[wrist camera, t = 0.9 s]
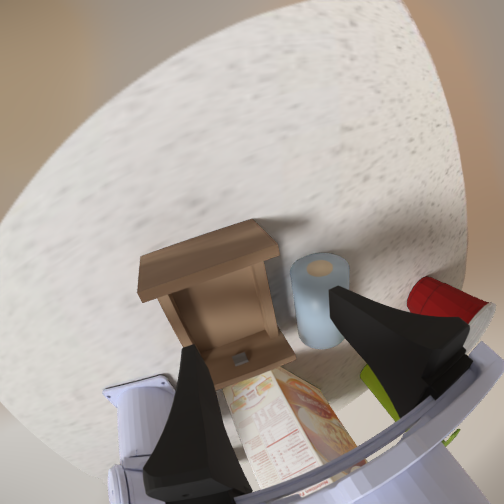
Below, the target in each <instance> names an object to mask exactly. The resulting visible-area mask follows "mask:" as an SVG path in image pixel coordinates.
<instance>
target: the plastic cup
mask: <svg viewBox="0 0 504 504" xmlns="http://www.w3.org/2000/svg"><path fill="white" fill-rule="evenodd" d="M407 307H408V309H409V310H410V312H411V313H415V314H421V315H428V316H438V317H460V318H461V319H462V320H464V321H465V322H466V323H467V324H468V325H470V332H469V334H468V337H467V339H466V341H465V343H464V345H463V347H464V348H465V349H466V353H465V354H466V355H467V353H468V352H469V351H470V350H471V349H472V348H473V347H474V345H475V344H476V343H477V342H478V341H479V339H480V338H481V336H482V335H483V334H484V332H485V331H486V329H487V327H488V326H489V324H490V322H491V320H492V318H493V315H494V313H495V309H496V304H494V303H492V302H490V303H489V302H486V301H483V300H480V299H478V298H476V297H473V296H471V295H469V294H467V293H465V292H463V291H461V290H459V289H457V288H454V287H452V286H450V285H448V284H446V283H442V282H440V281H438V280H436V279H434V278H431V277H427V276H426V277H423V278H422V279H421V280H419V281H418V282H417V284H416V285H415V286H414V287H413V289H412V291H411V292H410V294H409V297H408V300H407Z"/></svg>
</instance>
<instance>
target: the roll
mask: <svg viewBox="0 0 504 504" xmlns="http://www.w3.org/2000/svg"><path fill="white" fill-rule="evenodd" d="M290 275H291V282H292V289H293V296H294V303H295V311H296V318H297V326H298V334H299V338H300V339H301V341H302V342H303V343H304V344H305V345H307V346H309V347H311V348H315V349H328V348H332V347H334V346H336V345H338V344H340V343H341V342H342V341H343V340H344V339H345V338H344V337H343V336H342V334H341V333H340V332H339V331H338V329H337V328H336V326H335V325H334V323H333V322H332V320H331V319H330V310H329V291H328V290H329V289H331V288H333V287H336V286H338V285H339V286H341V287H343V288H346V289H348V290H349V264H348V262H347V261H346V260H345V259H343V258H342V257H340V256H338V255H335V254H330V253H315V254H311V255H308V256H306V257H303V258H300V259H299V260H297V261H296V262H295V263H294V264H293V265H292V267H291V270H290Z"/></svg>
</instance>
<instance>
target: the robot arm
mask: <svg viewBox="0 0 504 504" xmlns="http://www.w3.org/2000/svg"><path fill="white" fill-rule="evenodd" d="M328 291H329V310H330V319H331V320H332V322H333V323H334V325H335V326H336V328H337V329H338V331H339V332H340V333H341V334H342V336H343V337H344V338H345V339H346V340H347V341H348V342H349V343H350V345H351V346H352V347H353V348H354V349H355V350H356V351H357V352H358V354H359V355H360V356H361V357H362V358H363V359H364V360H365V362H366V363H367V364H368V365H369V367H370V368H371V370H372V371H373V373H374V374H375V376H376V377H377V379H378V380H379V382H380V383H381V385H382V387H383V388H384V390H385V392H386V393H387V395H388V397H389V398H390V400H391V402H392V404H393V406H394V408H395V410H396V411H397V413H398V416H399V418H400V419H399V420H398V421H396V422H395V423H394V424H392V425H391V426H389V427H388V428H386V429H385V430H383V431H382V432H380V433H379V434H377V435H376V436H374V437H372V438H371V439H369V440H368V441H366V442H364V443H363V444H361V445H359V446H358V447H356V448H354V449H352V450H351V451H349V452H347V453H345V454H343V455H341V456H340V457H338V458H336V459H334V460H332V461H330V462H328V463H326V464H324V465H322V466H320V467H317V468H315V469H313V470H311V471H309V472H306V473H304V474H302V475H299V476H297V477H295V478H292V479H290V480H287V481H284V482H282V483H279V484H276V485H273V486H271V487H268V488H265V489H262V490H259V491H255V492H252V491H253V490H252V488H251V486H250V485H249V483H248V481H247V479H246V477H245V475H244V472H243V470H242V468H241V466H240V464H239V462H238V459H237V457H236V455H235V452H234V450H233V448H232V445H231V443H230V440H229V438H228V435H227V433H226V430H225V427H224V424H223V420H222V416H221V412H220V408H219V404H218V399H217V395H216V391H215V387H214V383H213V381H212V378H211V375H210V372H209V369H208V367H207V365H206V364H205V362H204V360H203V358H202V357H201V355H200V353H199V351H198V349H197V348H196V346H195V344H192V345H189V346H186V347H183V348H182V351H181V362H180V370H179V376H178V382H177V387H176V390H175V389H174V388H173V386H172V385H171V384H170V382H169V381H168V380H167V378H166V377H165V376H163V375H160V376H156V377H152V378H149V379H145V380H141V381H138V382H134V383H130V384H126V385H122V386H117V387H113V388H109V389H104V390H103V392H102V394H103V395H104V396H105V397H106V398H107V399H108V400H109V401H110V402H111V403H112V404H113V405H114V406H115V407H116V408H117V415H118V440H119V454H120V465H117V464H114V465H113V467H111V468H110V469H109V471H108V494H109V502H110V504H491V503H490V502H489V501H488V499H487V498H486V497H485V496H484V494H483V493H482V492H481V490H480V489H479V488H478V487H477V485H476V484H475V483H474V482H473V480H472V479H471V478H470V476H469V475H468V474H467V473H466V472H465V470H464V469H463V468H462V467H461V465H460V464H459V463H458V462H457V460H456V459H455V458H454V457H453V455H452V454H451V453H450V452H449V451H448V450H447V448H446V447H445V446H444V445H443V443H442V442H441V441H442V440H444V438H446V437H447V436H448V435H449V434H450V433H451V432H452V431H453V430H454V429H455V428H456V427H457V426H458V425H459V424H460V423H461V422H462V421H463V420H464V419H465V418H466V417H467V416H468V415H469V414H470V413H471V412H472V411H473V410H474V408H475V407H476V406H477V405H478V404H479V403H480V402H481V400H482V399H483V398H484V397H485V396H486V395H487V393H488V392H489V391H490V390H491V388H492V387H493V386H494V385H495V383H496V382H497V381H498V379H499V378H500V377H501V375H502V374H503V372H504V360H503V359H502V358H501V357H500V356H498V355H497V354H496V353H495V352H494V351H493V350H492V349H491V348H490V347H488V346H487V345H486V344H485V343H484V342H483V341H481V342H480V343H479V344H478V345H477V346H476V347H475V348H474V349H473V351H472V352H471V353H470V354H469V356H467V355H466V354H465V353H466V349H465V348H464V347H463V345H464V343H465V341H466V339H467V337H468V334H469V332H470V325H468V324H467V323H466V322H465V321H464V320H462V319H461V318H460V317H438V316H428V315H421V314H415V313H410V312H406V311H402V310H398V309H395V308H392V307H389V306H386V305H383V304H380V303H378V302H375V301H373V300H370V299H368V298H366V297H363V296H361V295H359V294H357V293H354V292H352V291H350V290H348V289H346V288H343V287H341V286H339V285H338V286H336V287H333V288H331V289H329V290H328ZM408 429H409V430H408ZM407 430H408V431H407ZM406 431H407V432H406ZM404 432H406V433H404ZM403 433H404V434H403ZM401 434H403V437H402V438H401V440H400V441H399V442H398V443H397V444H396V445H395V446H393V447H392V448H390V449H389V450H387V451H386V452H384V453H382V454H381V455H379V456H378V457H376V458H375V459H373V460H371V461H370V462H368V463H366V464H365V465H363V466H361V467H360V468H358V469H356V470H355V471H353V472H351V473H349V474H347V475H346V476H344V477H342V478H340V479H339V480H337V481H335V482H333V483H331V484H329V485H327V486H325V487H323V488H321V489H319V490H317V491H315V492H313V493H311V494H309V495H307V496H305V497H300V495H299V494H295V495H291V494H294V493H296V492H299V491H301V490H304V489H306V488H308V487H311V486H313V485H315V484H317V483H320V482H322V481H324V480H326V479H328V478H330V477H332V476H334V475H336V474H338V473H340V472H342V471H344V470H346V469H348V468H349V467H351V466H353V465H355V464H357V463H358V462H360V461H362V460H364V459H365V458H367V457H369V456H370V455H372V454H373V453H375V452H377V451H378V450H380V449H381V448H383V447H384V446H386V445H387V444H389V443H390V442H392V441H393V440H394V439H396V438H397V437H399V436H400V435H401ZM289 495H291V496H289ZM286 496H288V497H286ZM283 497H284V498H283ZM280 498H281V499H280Z"/></svg>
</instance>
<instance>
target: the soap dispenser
mask: <svg viewBox="0 0 504 504" xmlns="http://www.w3.org/2000/svg"><path fill="white" fill-rule="evenodd" d="M360 378H361V379H362V380H363V382H364V383H365V384H366V385H367V387H368V388H369V389H370V390H371V392H372V393H373V394H374V395H375V397H376V398H377V399H378V400H379V402H380V403H381V404H382V406H383V407H384V408H385V409H386V410H387V412H388V413H389V414H390V416H391V417H392V418H393V419H394V421H395V422H396V421H398V420H399V419H400V418H399V416H398V413H397V411H396V410H395V408H394V406H393V404H392V402H391V400H390V398H389V397H388V395H387V393H386V392H385V390H384V388H383V387H382V385H381V383H380V382H379V380H378V379H377V377H376V376H375V374H374V373H373V371H372V370H371V368H370V367H369V365H368V364H367V365H366V366H365V367H364V369H363V370H362V372H361V374H360ZM408 430H409V429H408ZM408 430H407V431H408ZM407 431H406V432H407ZM459 431H460V429H457V430H456V431H455V432H454V433H453V434H452V435H451V436H450V438H449V439H448V440H447V441H446V442H445V441H444V440H442V441H441V442H442V443H443V445H444V446H445V447H446V446H447V445H448V444H449V443H450V442H451V441H452V440H453V439H454V438H455V437H456V436H457V434H458V433H459Z"/></svg>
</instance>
